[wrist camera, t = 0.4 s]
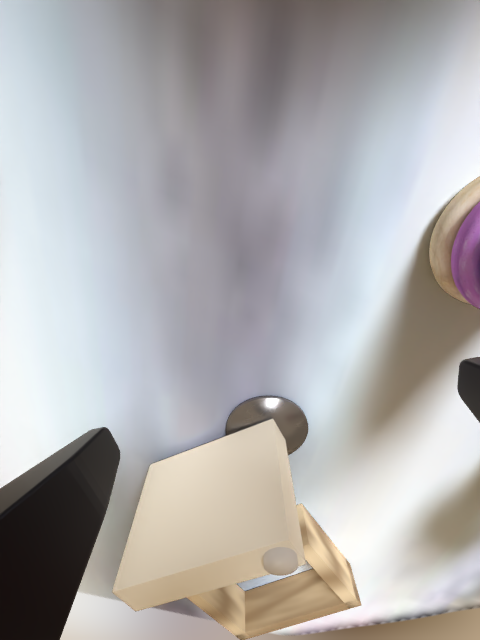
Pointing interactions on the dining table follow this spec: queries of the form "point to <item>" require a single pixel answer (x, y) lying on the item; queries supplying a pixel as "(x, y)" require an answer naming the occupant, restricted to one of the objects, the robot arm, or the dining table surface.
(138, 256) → the dining table surface
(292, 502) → the lever
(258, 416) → the pivot plate
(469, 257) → the stacking toy
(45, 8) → the dining table surface
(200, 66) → the dining table surface
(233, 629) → the tray
